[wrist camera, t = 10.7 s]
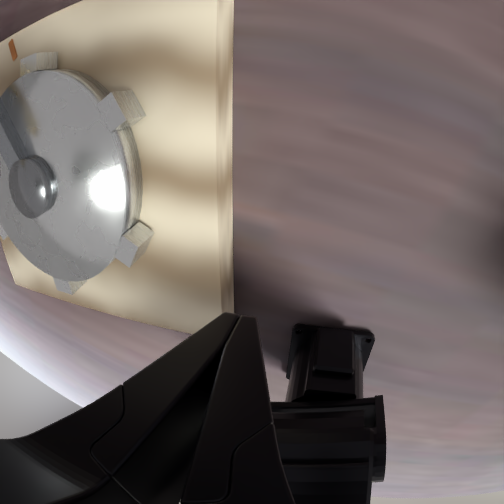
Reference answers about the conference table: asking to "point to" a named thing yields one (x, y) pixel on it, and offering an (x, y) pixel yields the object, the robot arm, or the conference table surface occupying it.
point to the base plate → (154, 150)
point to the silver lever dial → (70, 172)
